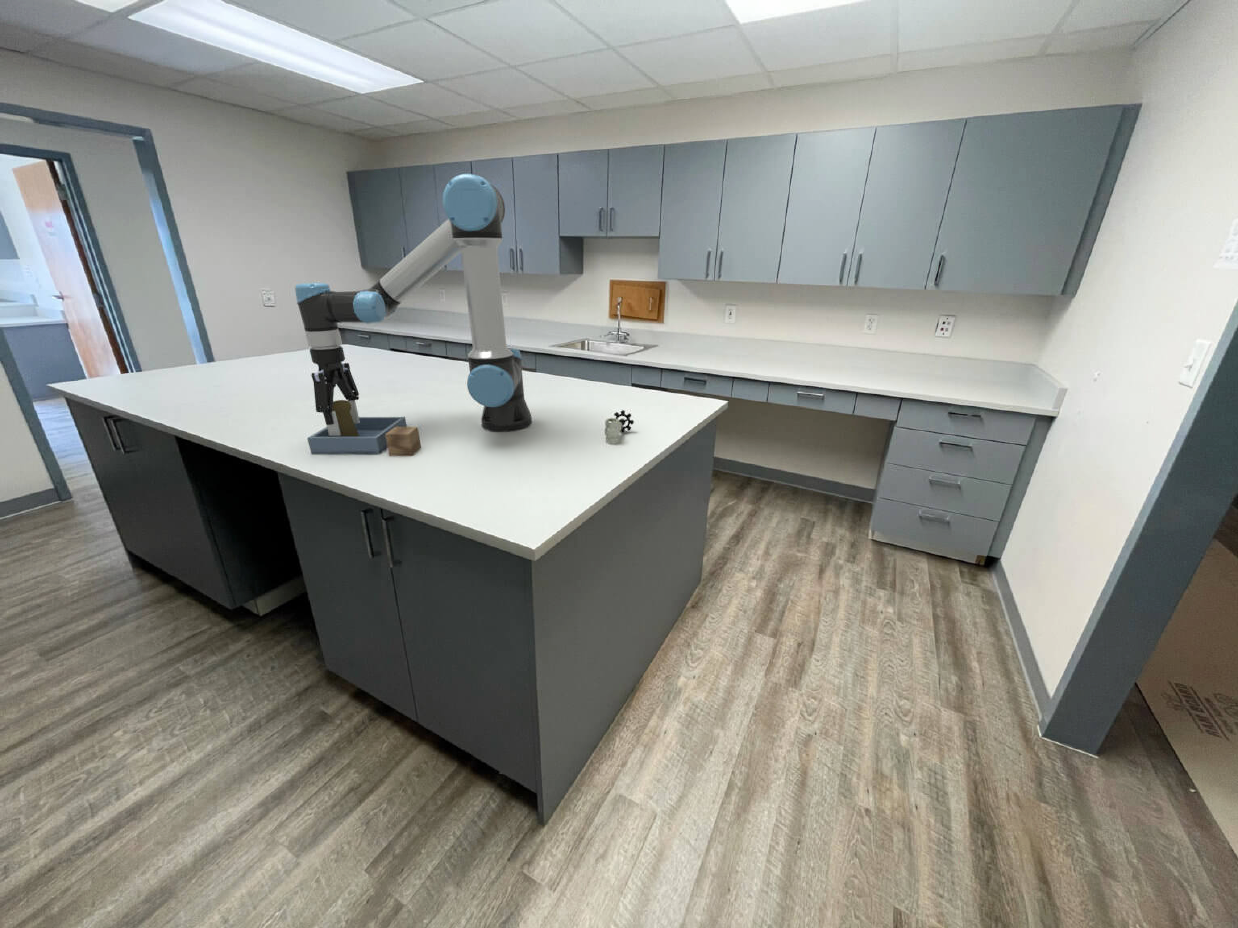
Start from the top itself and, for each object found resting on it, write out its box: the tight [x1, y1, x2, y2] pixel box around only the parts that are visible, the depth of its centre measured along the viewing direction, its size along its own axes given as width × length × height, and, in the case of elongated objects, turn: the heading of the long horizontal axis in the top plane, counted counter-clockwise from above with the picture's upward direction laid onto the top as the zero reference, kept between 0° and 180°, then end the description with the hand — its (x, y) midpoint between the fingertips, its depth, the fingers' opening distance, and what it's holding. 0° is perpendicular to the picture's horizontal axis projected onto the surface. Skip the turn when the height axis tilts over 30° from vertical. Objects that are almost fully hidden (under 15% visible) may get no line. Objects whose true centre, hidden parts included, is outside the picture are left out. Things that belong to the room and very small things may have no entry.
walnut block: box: [385, 426, 422, 457], centre depth 128 cm, size 6×6×6 cm
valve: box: [604, 409, 635, 445], centre depth 137 cm, size 7×7×12 cm
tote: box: [306, 416, 408, 455], centre depth 135 cm, size 18×18×4 cm
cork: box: [333, 399, 359, 437], centre depth 133 cm, size 6×6×11 cm
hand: (345, 428), depth 134 cm, fingers open, 10 cm apart
